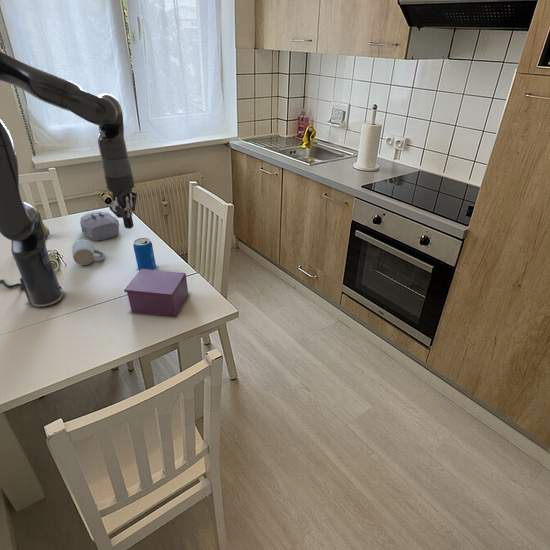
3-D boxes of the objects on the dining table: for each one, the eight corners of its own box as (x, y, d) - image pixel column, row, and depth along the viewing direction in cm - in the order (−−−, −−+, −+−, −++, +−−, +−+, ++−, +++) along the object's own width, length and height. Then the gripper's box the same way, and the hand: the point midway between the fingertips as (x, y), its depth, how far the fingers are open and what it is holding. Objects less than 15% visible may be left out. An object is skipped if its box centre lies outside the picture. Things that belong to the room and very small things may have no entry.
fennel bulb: (38, 234, 170) (29, 208, 163) (50, 232, 172) (42, 206, 165) (37, 240, 165) (28, 213, 159) (50, 238, 167) (41, 212, 161)
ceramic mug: (75, 268, 147) (70, 250, 143) (75, 258, 153) (70, 240, 149) (105, 263, 151) (101, 245, 147) (104, 253, 157) (100, 236, 153)
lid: (124, 291, 121) (123, 289, 120) (141, 270, 131) (141, 268, 131) (172, 296, 119) (171, 294, 119) (185, 274, 130) (185, 272, 129)
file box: (131, 312, 125) (126, 292, 121) (147, 290, 136) (144, 271, 131) (175, 316, 123) (172, 296, 119) (188, 294, 134) (185, 274, 130)
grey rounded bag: (125, 234, 171) (110, 219, 184) (121, 217, 166) (106, 202, 180) (89, 244, 163) (76, 227, 176) (84, 226, 158) (71, 210, 172)
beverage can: (151, 275, 144) (146, 246, 137) (135, 273, 145) (129, 244, 138) (159, 266, 149) (154, 238, 142) (143, 264, 150) (138, 236, 144)
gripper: (116, 164, 117) (127, 217, 126) (93, 178, 106) (107, 236, 115) (140, 165, 116) (149, 219, 125) (119, 180, 105) (131, 238, 114)
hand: (129, 227), depth 120 cm, fingers closed
